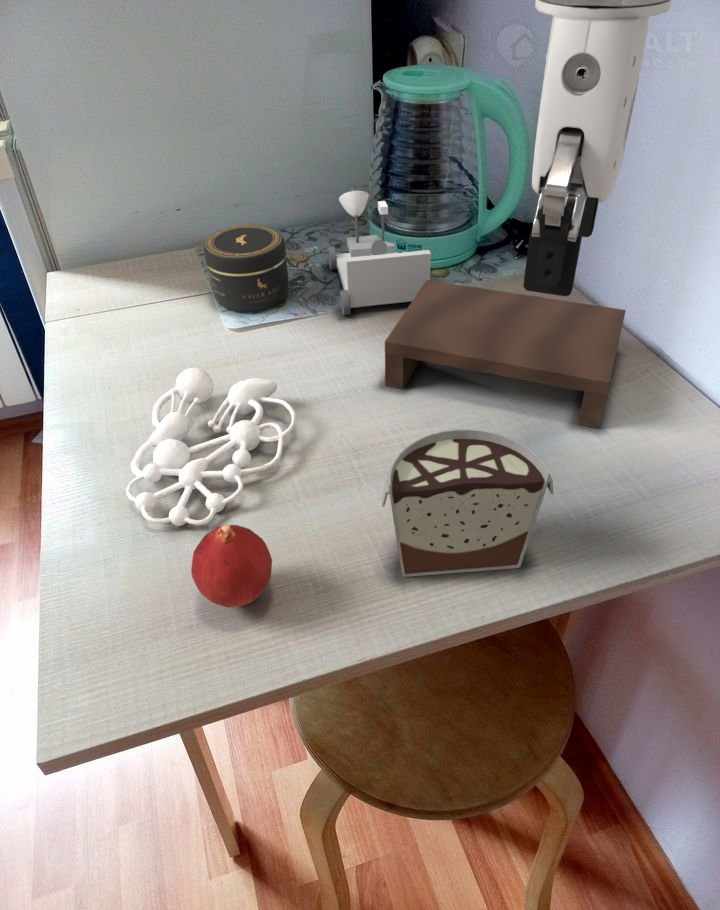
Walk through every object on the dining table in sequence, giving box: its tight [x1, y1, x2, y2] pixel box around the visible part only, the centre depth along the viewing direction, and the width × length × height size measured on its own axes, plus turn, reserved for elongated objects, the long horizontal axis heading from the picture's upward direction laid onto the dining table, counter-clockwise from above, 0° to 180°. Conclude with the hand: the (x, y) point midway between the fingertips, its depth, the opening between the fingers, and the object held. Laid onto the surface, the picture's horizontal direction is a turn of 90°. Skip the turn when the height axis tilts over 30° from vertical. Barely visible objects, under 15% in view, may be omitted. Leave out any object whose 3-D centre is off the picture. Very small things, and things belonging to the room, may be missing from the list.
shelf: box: [384, 279, 626, 429], centre depth 75 cm, size 22×14×6 cm, turn 68°
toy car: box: [327, 186, 432, 316], centre depth 90 cm, size 18×10×12 cm
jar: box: [203, 224, 289, 314], centre depth 88 cm, size 10×10×8 cm
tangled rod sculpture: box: [125, 367, 297, 527], centre depth 66 cm, size 19×14×4 cm
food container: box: [381, 428, 554, 578], centre depth 55 cm, size 12×6×10 cm, turn 94°
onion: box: [190, 524, 273, 608], centre depth 52 cm, size 6×6×8 cm
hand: (559, 260), depth 51 cm, fingers open, 9 cm apart
